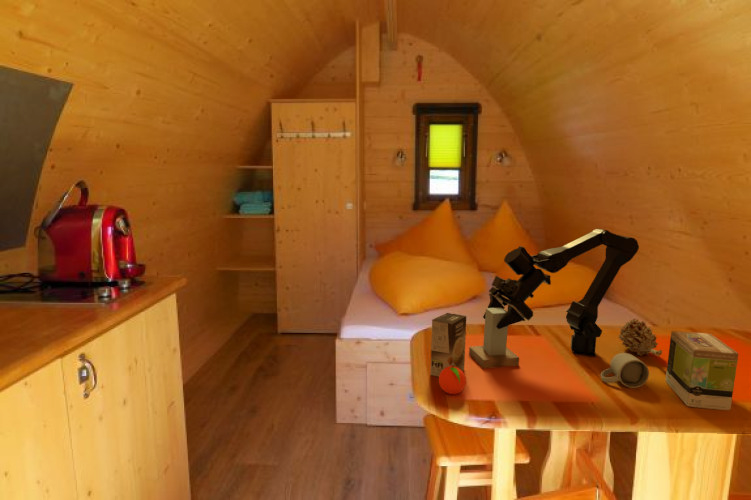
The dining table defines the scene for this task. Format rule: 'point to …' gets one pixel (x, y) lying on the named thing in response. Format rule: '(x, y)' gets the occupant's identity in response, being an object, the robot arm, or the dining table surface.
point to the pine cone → (639, 338)
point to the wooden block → (495, 332)
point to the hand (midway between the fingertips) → (490, 323)
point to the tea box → (701, 370)
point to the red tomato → (452, 380)
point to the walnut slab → (493, 358)
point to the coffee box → (448, 342)
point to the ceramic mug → (626, 371)
